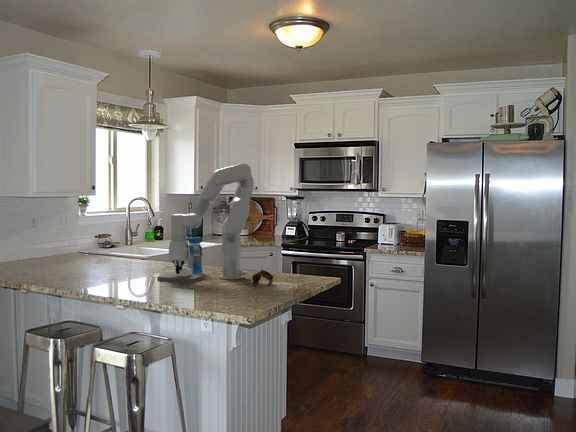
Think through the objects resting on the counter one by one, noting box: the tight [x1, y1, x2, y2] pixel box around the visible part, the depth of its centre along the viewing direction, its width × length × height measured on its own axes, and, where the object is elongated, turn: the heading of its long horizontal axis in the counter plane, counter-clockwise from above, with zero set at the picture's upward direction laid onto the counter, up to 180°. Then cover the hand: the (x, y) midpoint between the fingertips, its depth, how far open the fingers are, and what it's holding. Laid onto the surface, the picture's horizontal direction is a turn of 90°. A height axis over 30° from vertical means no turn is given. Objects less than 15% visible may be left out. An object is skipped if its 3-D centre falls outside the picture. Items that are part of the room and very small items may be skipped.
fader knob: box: [180, 267, 192, 277], centre depth 265 cm, size 4×6×4 cm, turn 162°
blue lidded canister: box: [187, 236, 204, 275], centre depth 285 cm, size 8×8×20 cm
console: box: [157, 272, 205, 284], centre depth 266 cm, size 20×12×2 cm, turn 72°
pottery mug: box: [251, 269, 274, 287], centre depth 252 cm, size 12×10×8 cm
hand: (179, 273), depth 267 cm, fingers closed
